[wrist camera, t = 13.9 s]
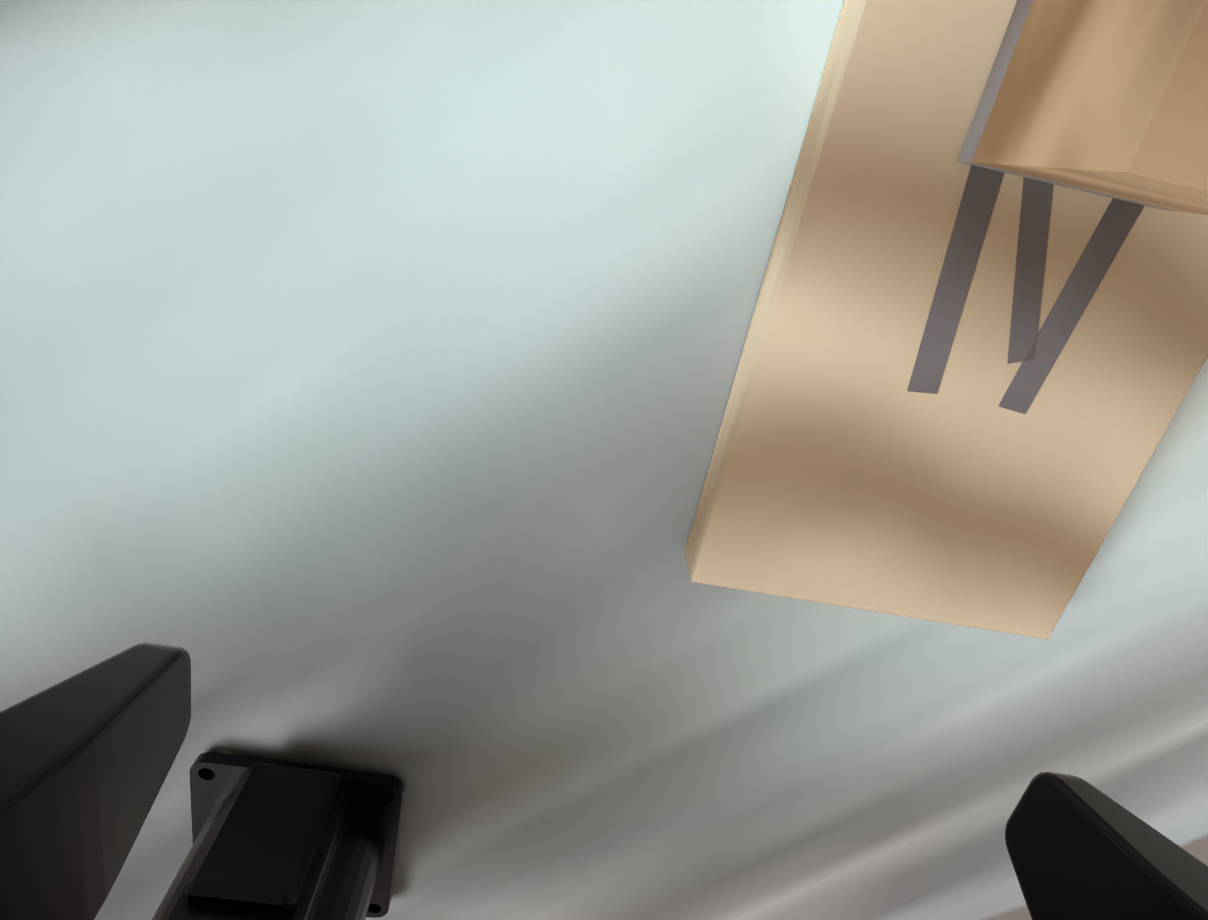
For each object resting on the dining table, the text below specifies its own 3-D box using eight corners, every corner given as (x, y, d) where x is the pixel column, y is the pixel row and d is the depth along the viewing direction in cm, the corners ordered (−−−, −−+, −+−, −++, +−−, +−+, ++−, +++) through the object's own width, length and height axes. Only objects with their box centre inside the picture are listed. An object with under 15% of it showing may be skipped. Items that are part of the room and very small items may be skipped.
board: (1017, 606, 21) (1048, 640, 20) (684, 551, 20) (691, 582, 19) (1424, -162, 14) (1519, -195, 12) (934, -310, 13) (975, -363, 11)
